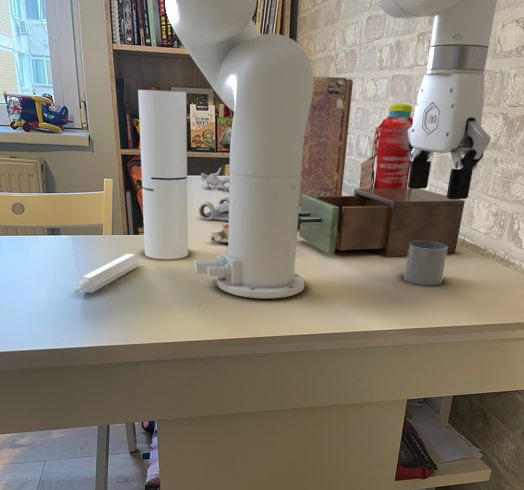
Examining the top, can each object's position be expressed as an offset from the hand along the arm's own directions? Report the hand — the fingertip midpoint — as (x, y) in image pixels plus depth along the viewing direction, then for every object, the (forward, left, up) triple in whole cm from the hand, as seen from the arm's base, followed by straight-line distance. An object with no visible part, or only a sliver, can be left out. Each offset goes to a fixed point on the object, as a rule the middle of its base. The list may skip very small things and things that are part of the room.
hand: (436, 193), depth 82 cm
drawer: (-6, +20, -12) cm, 24 cm away
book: (+5, +69, -13) cm, 70 cm away
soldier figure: (-9, +93, -13) cm, 94 cm away
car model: (-13, +45, -13) cm, 49 cm away
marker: (-48, +7, -13) cm, 50 cm away
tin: (-1, -1, -13) cm, 13 cm away
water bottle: (+13, +37, -13) cm, 42 cm away
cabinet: (+8, +20, -13) cm, 25 cm away
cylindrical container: (-37, +21, -13) cm, 44 cm away
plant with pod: (-22, +28, -13) cm, 38 cm away
